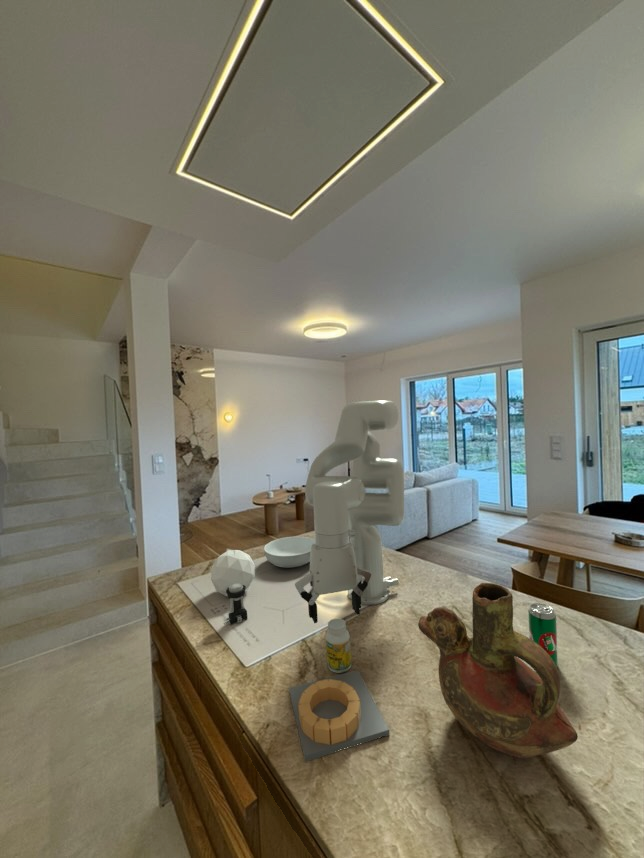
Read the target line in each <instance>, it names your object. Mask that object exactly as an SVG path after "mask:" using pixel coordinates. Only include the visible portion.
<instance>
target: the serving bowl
mask: <svg viewBox="0 0 644 858" xmlns="http://www.w3.org/2000/svg"><path fill="white" fill-rule="evenodd" d="M312 544H315V538H313V537H312V538H311V537H306V536H286V537H280V538H277V539H274V540H271V541H270V542H268V543H266V544H265V545H264V547H263V551H264V555H265V558H266V560H267V561H268V562H269V563H271V564H272V565H274V566H275V567H279V568H287V569H288V568H297V567H301V566H304V565H307V564H308V563H310V554H311V547H312Z"/></svg>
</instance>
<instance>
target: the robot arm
mask: <svg viewBox="0 0 644 858" xmlns="http://www.w3.org/2000/svg"><path fill="white" fill-rule="evenodd" d="M398 420H399V409H398V406H397V405H396V403H395V402H394V401H392V400H367V401H366V400H365V401H355V402H349V403H348V404H346V405H345V406H344V407H343V409H342V410H341V414H340V417H339V421H338V426H337V431H336V434H335V438H334V441H333V442H332V443H330V444H329V445H328V446H327V447H325V449H323V450H322V451H321V452H320V453H319V454H318V455H317V456H316V458H314V459H313V461H312V463H311V465H310V467H309V472H308V474H307V479H306V482H305V487H304V488H305V489H304V490H305V491H304V494H305V495H304V496H305V499H306V501H307V504H309V505H310V506H312V507H313V521H314V540H315V544H312V547H311V554H310V562H309V572H308V574H306V575H305V576H303V577H302V578H301V579H299V580H298V581H296V582H295V583H294V587H295V588H296V590H297V592H298V594H299V595H300V597H301V598H302V599H303V600H304V601H306V603H307V604H308V609H307V610H308V617H309V619H312V621H313V623H314V624H317V623H318V604H317V603H316V601H317V600H318V599H319V597H320V595H328V594H335V593H340V592H345V591H347V596H348V598H349V599H350V600H351V607H352V611H354V613H355V615H357V616H358V615H360V614H361V611H360V610H361V609H362V605H365V606H367V605H369V606H370V605H371V606H372V605H374V606H375V605H379V604H381V603H384V602H385V601H387V600H388V599H389V597H390V589H389V588H390V587H396V586H398V585H399V584H400V583H399V582H400V581H399V579H398V578H391V576H386V577H384V565H383V564H384V563H383V562H384V561H383V545H382V537H381V534H380V533H379V530H378V529H377V527H376V526H382V527H383V526H385V527H396V526H397V527H398V526H400V525H401V524H402V522H403V521H404V518H405V517H404V516H405V476H404V475H405V474H404V468H403V467H404V466H403V465H402V462H401V461H400V460H398V459H397V458H388V457H387V458H385V457H384V458H380V457H381V456H380V455H381V454H380V450H381V447H380V446H381V444H380V442H379V440H378V439H377V438H376V437H375V435H374V434H373V433H372V431H389V430H392V429H394V428H395V427H396V425H397V424H398ZM351 461H352V472H351V475H352V476H348V475H346V476H339V475H327V474H328V473H329V472H330V471H332V470H333V469H335V468H336V467H339V466H341V465H344V464H346V463H348V462H351ZM367 489H368V490H386V491H387V492H388V493H387V492H384V493H383V492H366V490H367ZM308 584H310V587H311V588H310V589H309V591H308V592H307V590H305V588H304V587H305V586H307V585H308Z"/></svg>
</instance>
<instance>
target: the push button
mask: <svg viewBox="0 0 644 858" xmlns="http://www.w3.org/2000/svg"><path fill="white" fill-rule="evenodd" d="M246 590H247V589H246V587H245V586H244V585H242V583H239V582H236V583H233V584H231V585H230V586H229V587H228V588H227V589H226V593H227V595H228V596H227V598H229V603H230V604H229V605H230V610H229V612H228V614H227V615H228V616H227V618H225V619H223V625H227V624H230V625H234V624H236V623H237V624H238V623H242V621H247V620H248V610H247V609H246V608H245V605H244V595H245V594H246Z"/></svg>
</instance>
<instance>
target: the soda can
mask: <svg viewBox="0 0 644 858" xmlns="http://www.w3.org/2000/svg"><path fill="white" fill-rule="evenodd" d="M529 607H530V608H528V633H529V634H528V636H529V637H528V638H530V639H531V640H533V641H534V642H536V643H537V644H538V645H540V646H541V647H542V648H543V649H544V650H545V651H546V652H547V653H548V654H549V655H550V657H551V658H552V660H553V661H554V663H555V665H556V667H557V666H558V663H559V662H558V639H557V638H558V632H557V615H556V613H555V610H554V608H552V607H551V606H550V605H547V604H545V603H539V602H535V603H531V604H530V606H529Z"/></svg>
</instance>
